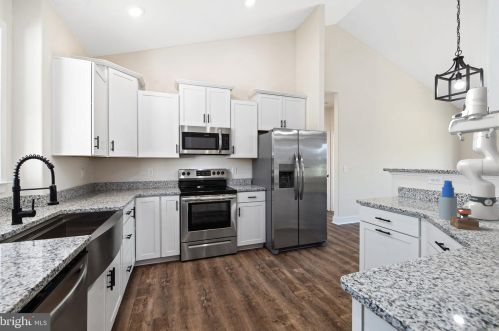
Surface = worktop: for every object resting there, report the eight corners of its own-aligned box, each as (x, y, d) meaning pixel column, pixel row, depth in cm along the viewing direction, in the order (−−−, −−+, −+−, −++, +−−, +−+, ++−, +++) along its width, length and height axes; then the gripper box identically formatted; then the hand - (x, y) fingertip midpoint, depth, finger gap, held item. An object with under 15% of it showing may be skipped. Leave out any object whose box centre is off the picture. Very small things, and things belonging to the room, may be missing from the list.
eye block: (450, 224, 135) (450, 216, 134) (469, 225, 131) (469, 217, 131) (458, 229, 126) (458, 220, 126) (478, 230, 123) (478, 221, 123)
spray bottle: (437, 216, 153) (437, 179, 153) (453, 217, 150) (454, 180, 149) (441, 219, 145) (441, 181, 144) (459, 221, 141) (460, 181, 141)
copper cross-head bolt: (454, 225, 133) (454, 207, 132) (467, 226, 131) (467, 207, 130) (460, 228, 127) (460, 209, 127) (473, 229, 125) (473, 209, 125)
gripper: (507, 113, 108) (507, 139, 105) (452, 122, 125) (450, 144, 122) (505, 106, 105) (504, 133, 101) (448, 116, 122) (446, 139, 118)
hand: (474, 139), depth 112 cm, fingers open, 8 cm apart
